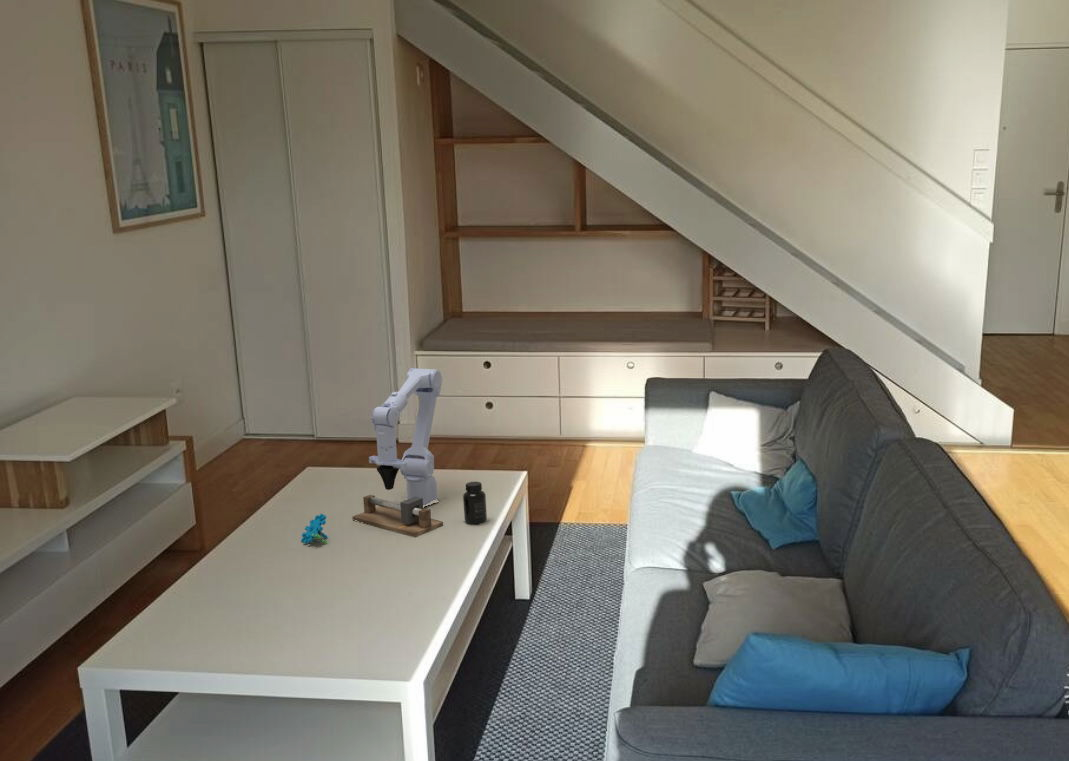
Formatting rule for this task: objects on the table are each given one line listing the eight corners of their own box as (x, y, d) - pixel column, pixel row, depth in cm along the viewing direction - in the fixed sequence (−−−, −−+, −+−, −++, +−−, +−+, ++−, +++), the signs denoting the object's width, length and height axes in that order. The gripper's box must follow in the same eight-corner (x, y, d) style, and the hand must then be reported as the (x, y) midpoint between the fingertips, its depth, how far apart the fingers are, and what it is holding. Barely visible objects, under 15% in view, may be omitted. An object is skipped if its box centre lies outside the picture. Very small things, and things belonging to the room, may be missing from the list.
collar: (416, 516, 304) (415, 496, 303) (423, 518, 303) (422, 498, 301) (401, 522, 300) (400, 502, 298) (408, 524, 298) (407, 504, 296)
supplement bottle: (488, 517, 307) (486, 480, 305) (485, 525, 301) (483, 487, 298) (466, 517, 308) (464, 480, 306) (462, 525, 302) (460, 487, 299)
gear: (297, 531, 296) (320, 506, 296) (313, 542, 299) (335, 517, 299) (301, 548, 286) (325, 523, 286) (317, 559, 289) (340, 534, 289)
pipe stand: (381, 509, 318) (379, 490, 317) (443, 525, 302) (442, 504, 301) (352, 520, 309) (351, 500, 308) (415, 537, 293) (413, 516, 292)
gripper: (360, 445, 304) (363, 488, 306) (394, 452, 295) (396, 496, 298) (377, 440, 309) (380, 482, 312) (411, 446, 300) (413, 490, 303)
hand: (389, 488), depth 305 cm, fingers closed
